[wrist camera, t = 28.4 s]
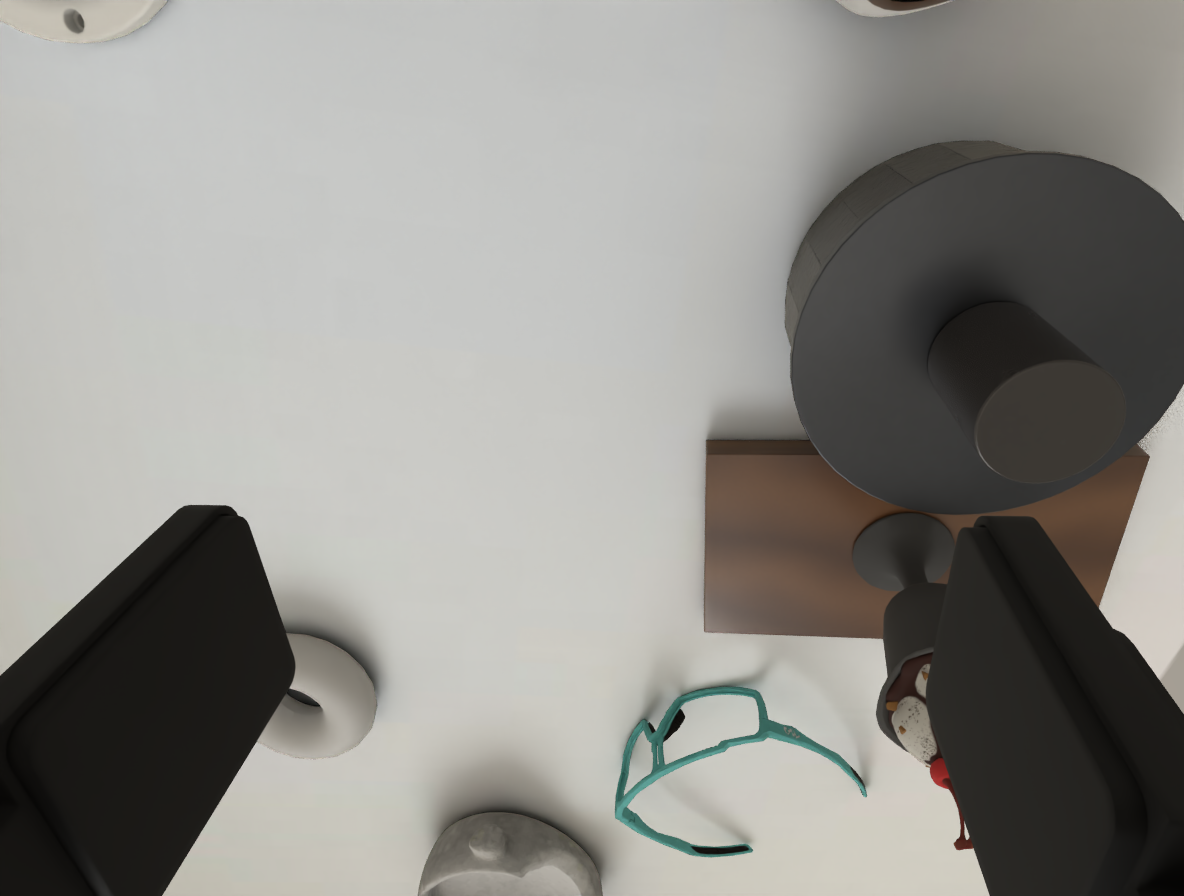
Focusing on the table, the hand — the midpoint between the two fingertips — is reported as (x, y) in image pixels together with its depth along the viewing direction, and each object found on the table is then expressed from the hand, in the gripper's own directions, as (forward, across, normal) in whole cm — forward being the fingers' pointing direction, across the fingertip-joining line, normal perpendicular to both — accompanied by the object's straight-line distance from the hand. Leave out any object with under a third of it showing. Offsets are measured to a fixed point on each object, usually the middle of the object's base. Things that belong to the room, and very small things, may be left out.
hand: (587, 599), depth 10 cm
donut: (+26, +24, +30) cm, 47 cm away
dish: (+26, +12, +49) cm, 57 cm away
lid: (+20, -12, +5) cm, 24 cm away
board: (+26, -12, +18) cm, 34 cm away
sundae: (+25, -12, +18) cm, 33 cm away
